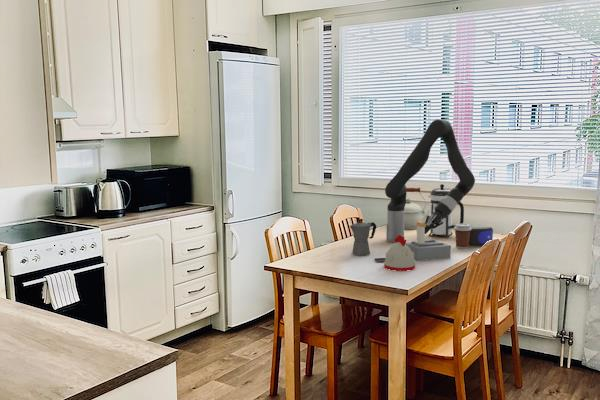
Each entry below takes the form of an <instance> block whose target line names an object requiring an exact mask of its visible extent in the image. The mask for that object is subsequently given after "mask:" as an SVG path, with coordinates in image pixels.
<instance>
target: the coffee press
mask: <svg viewBox="0 0 600 400" xmlns="http://www.w3.org/2000/svg"><path fill="white" fill-rule="evenodd" d="M444 187H445V185H444V184H440V186H439V187H437V188H434V189H432V190H431V192H430V194H429V195H428V198H430V210H431V212H430V216H431V215H432V214H433V213H434V212H435V210H434V208H435V207H436V206H437V205H438V204H439V203H440V201H441V200H442V199H443V198H444V197H445V196H446V195H447V194H448V193H449V192H450V191H451V190H452V189H450V188H444ZM457 206H459V207H460V215H459V217H460V219H459V224H464V221H465V220H464V219H465V218H464V217H465V216H464V215H465V209H464V203H462V202H461V201H460V202H459V203H458V204H457ZM442 221H443V224H441V225H440V226H438V227H436V228H434V229H433V228H432V229H430V230H429V231H430V232H429V235H428V236H429V237H430V238H431V237H434V236H435V235H438V236H445V238H446V239H449V238H450V236H452V235H453V234H454V233H453V232H452V229H454V227H455V226H456V224H454V225H453V211H452V212H451V213H450V215H449V216H448V217H447V218H443V220H442ZM449 235H450V236H449Z"/></svg>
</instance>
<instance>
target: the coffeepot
mask: <svg viewBox="0 0 600 400" xmlns="http://www.w3.org/2000/svg"><path fill="white" fill-rule="evenodd" d="M363 220H364V219H363V218H360V219H359V222H356V223H353V224H351V225H349V229H351V231H352V232H353V238H354V241H353V247H352V250H351V251H352V253H351V254H352V255H353V256H357V257H365V256H366V255H367V256H369V254H370V255H371V252H370V245H369V239H370V240H371V239H373V238H374V236H375V232H376V229H377V225H376V223H375V222H363ZM371 227H372V231H371V230H370V229H371ZM370 231H371V236H370Z"/></svg>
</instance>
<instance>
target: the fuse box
mask: <svg viewBox="0 0 600 400" xmlns="http://www.w3.org/2000/svg"><path fill="white" fill-rule="evenodd" d="M424 242H426V243H427V244H422V245H417V244H414V241H410V242H408V241H406V243H405V244H406V245H407V246H408V247H409V248H410V250H411V251H412V252H414V260H415V261H418V262H419V261H429V260H440V259H451V255H452V254H451V253H452V252H451V251H452V245H451V244H448V243H445V242H443V241H440V240H437V239H431V240H430V239H429V240H424Z"/></svg>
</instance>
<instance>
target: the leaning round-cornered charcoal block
mask: <svg viewBox="0 0 600 400" xmlns="http://www.w3.org/2000/svg"><path fill="white" fill-rule="evenodd" d="M471 228H472V230H471V231H470V239H469V246H470V247H483V246H482V245H484V244H485V243H486V242H487V241H489V240H492V241H493V238H494V237H493V233H494V229H493V227H491V226H487V227H486V226H485V227H483V226H482V227H471Z"/></svg>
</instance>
